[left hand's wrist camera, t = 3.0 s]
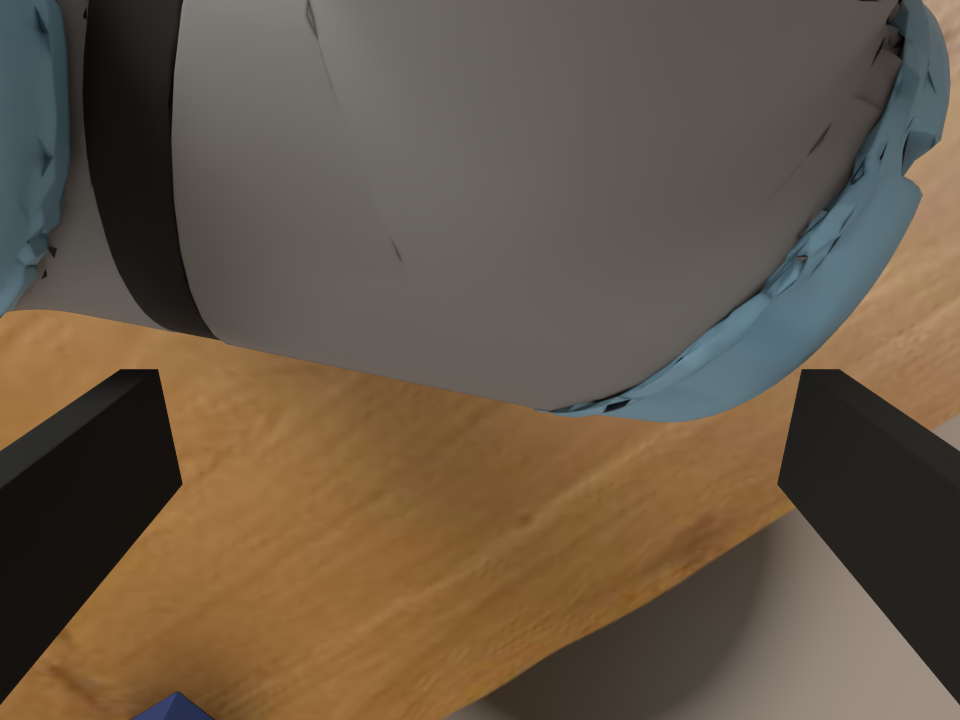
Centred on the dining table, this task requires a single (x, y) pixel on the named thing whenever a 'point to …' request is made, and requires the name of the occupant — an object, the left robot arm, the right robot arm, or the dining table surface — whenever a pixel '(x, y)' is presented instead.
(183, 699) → the brick
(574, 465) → the dining table surface
